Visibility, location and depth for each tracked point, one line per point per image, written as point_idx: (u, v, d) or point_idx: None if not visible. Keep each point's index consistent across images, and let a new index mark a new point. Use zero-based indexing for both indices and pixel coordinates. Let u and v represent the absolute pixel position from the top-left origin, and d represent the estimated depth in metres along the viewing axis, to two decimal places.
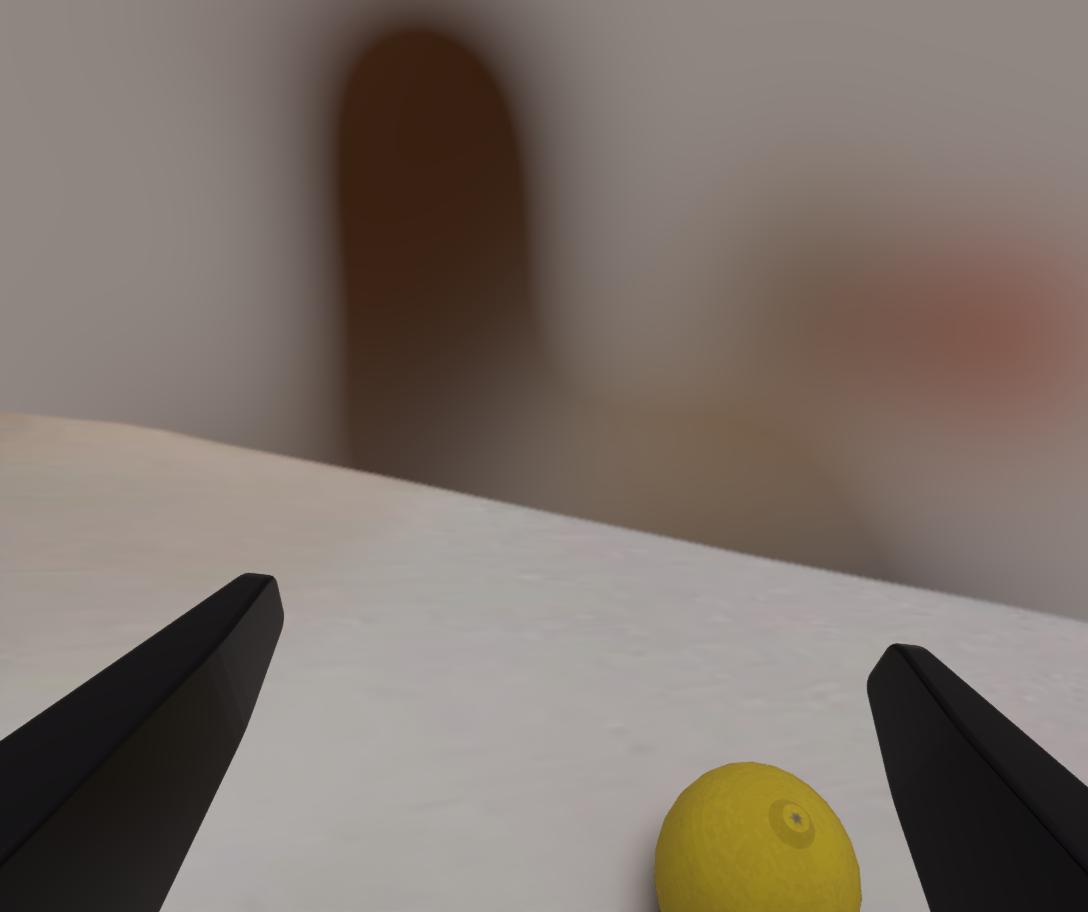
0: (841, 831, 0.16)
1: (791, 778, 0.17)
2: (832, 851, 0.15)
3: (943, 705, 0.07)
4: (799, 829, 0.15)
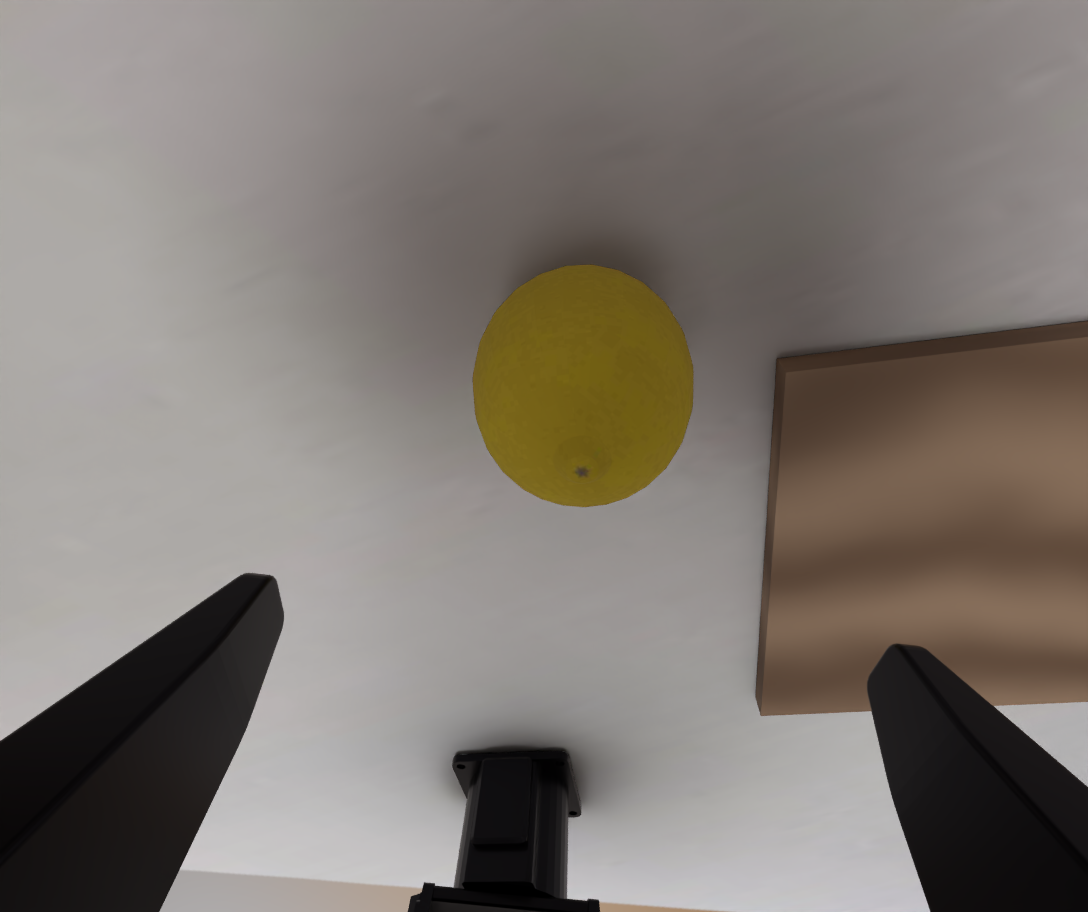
0: (659, 427, 0.12)
1: (605, 379, 0.12)
2: (632, 468, 0.12)
3: (943, 705, 0.07)
4: (584, 480, 0.12)
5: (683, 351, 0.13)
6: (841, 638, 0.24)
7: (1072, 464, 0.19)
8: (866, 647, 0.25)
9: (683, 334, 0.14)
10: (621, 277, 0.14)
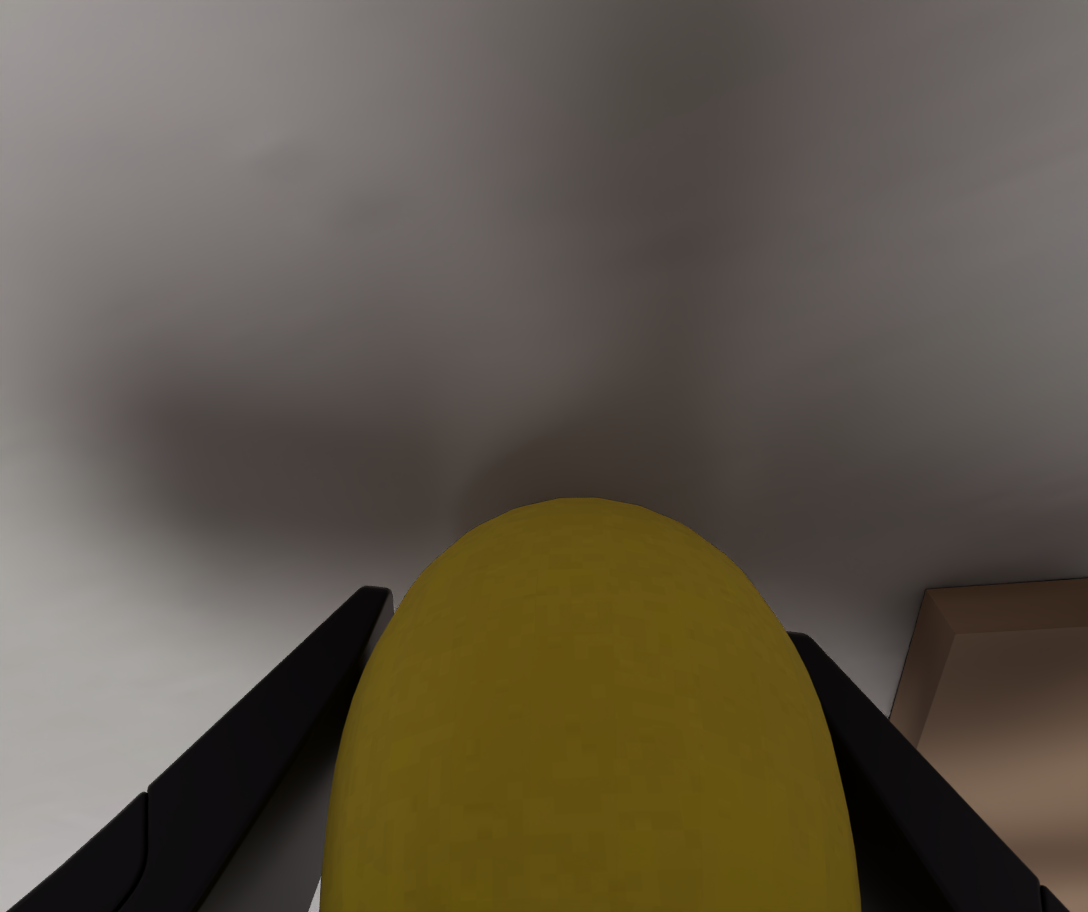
0: None
1: None
2: None
3: None
4: None
5: (842, 810, 0.05)
6: None
7: None
8: None
9: (821, 712, 0.06)
10: (678, 596, 0.06)
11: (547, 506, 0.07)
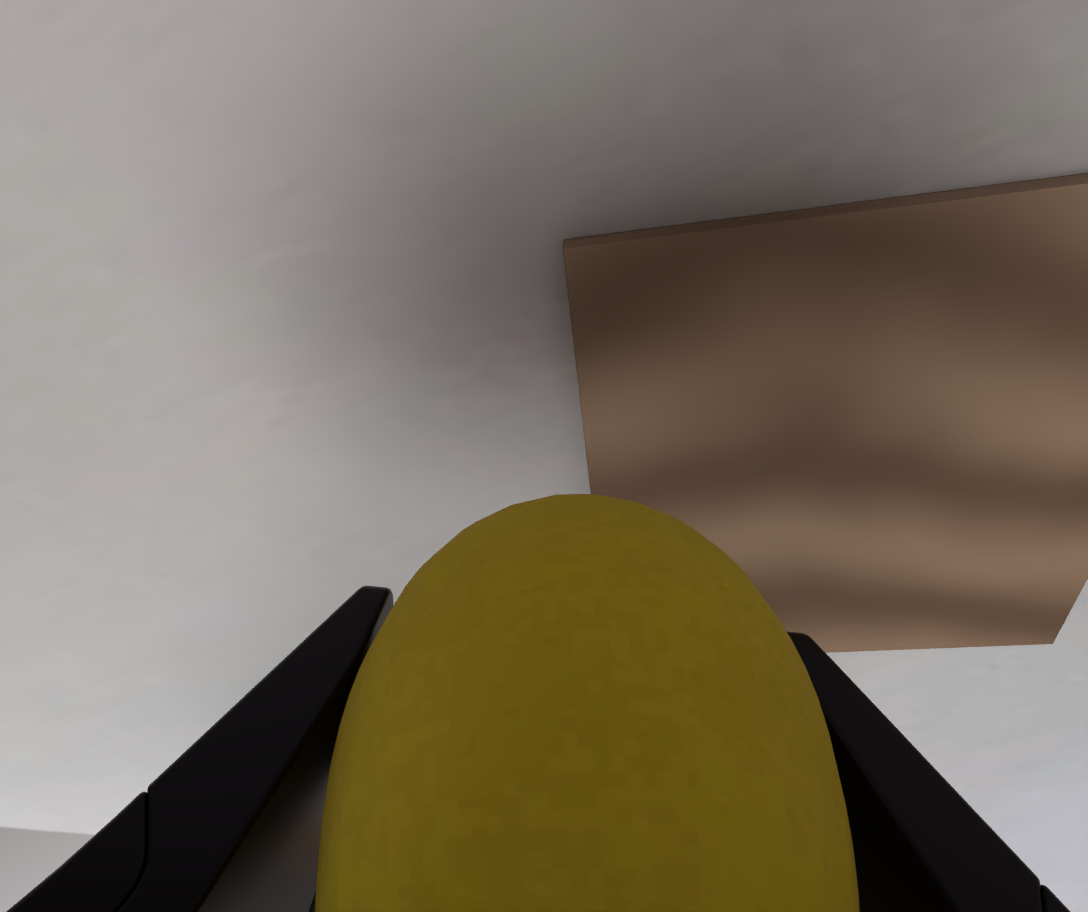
0: None
1: None
2: None
3: None
4: None
5: (840, 807, 0.05)
6: None
7: (889, 367, 0.17)
8: None
9: (820, 709, 0.06)
10: (676, 592, 0.06)
11: (545, 502, 0.07)
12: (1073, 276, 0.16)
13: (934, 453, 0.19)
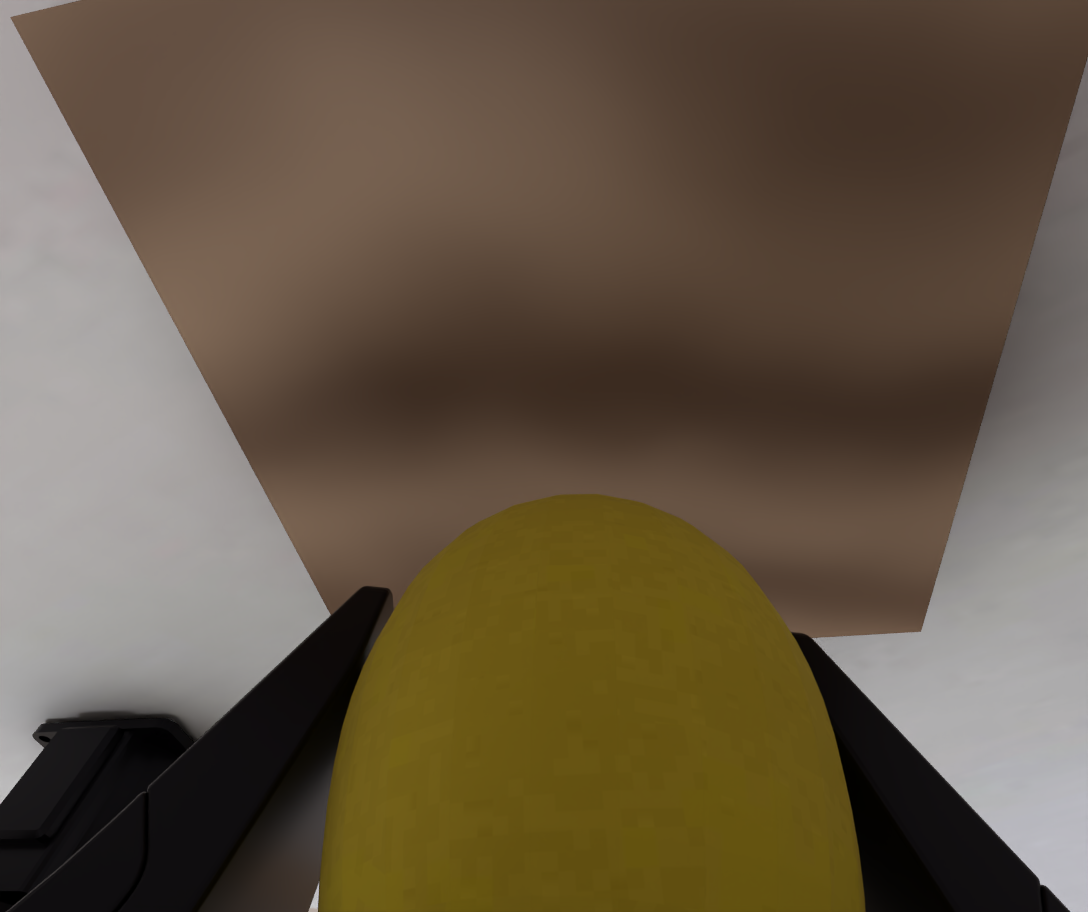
0: None
1: None
2: None
3: None
4: None
5: (846, 808, 0.05)
6: (394, 542, 0.17)
7: (574, 209, 0.11)
8: None
9: (825, 709, 0.06)
10: (681, 592, 0.06)
11: (548, 502, 0.07)
12: (813, 25, 0.10)
13: (682, 352, 0.13)
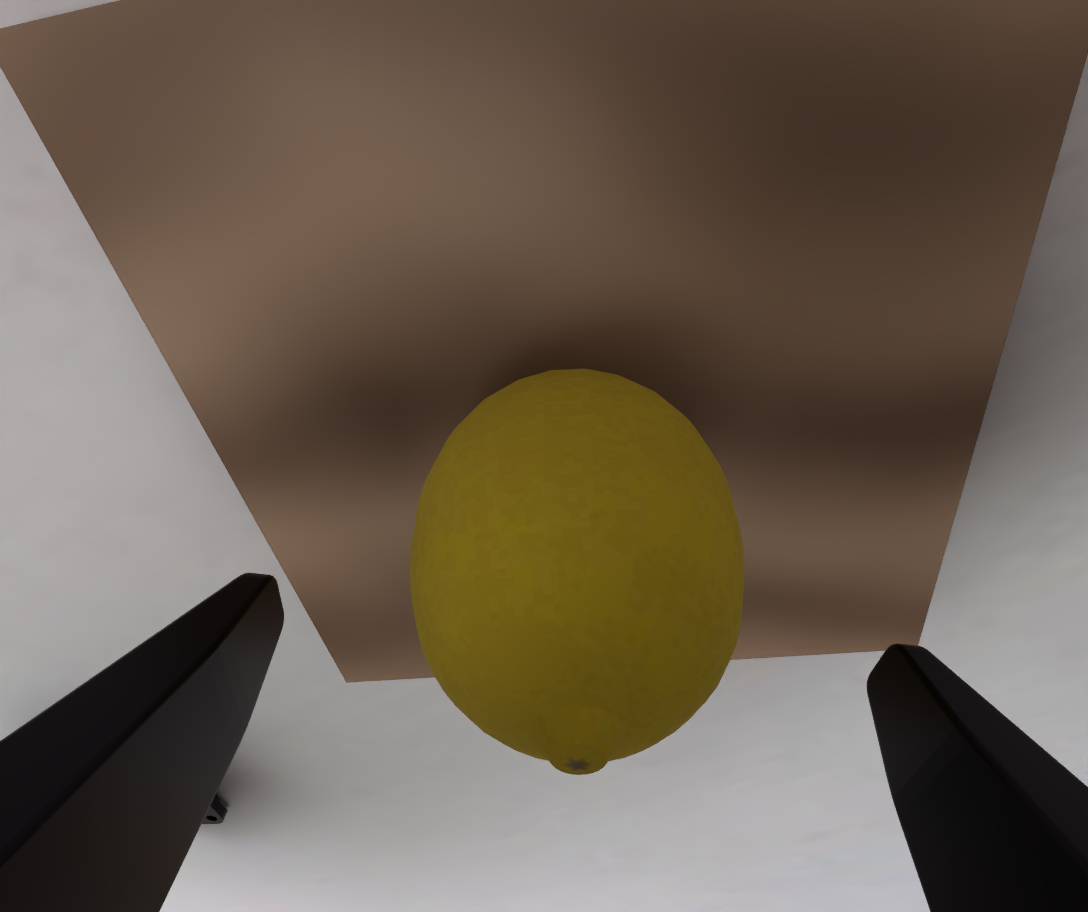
0: (703, 671, 0.08)
1: (615, 613, 0.07)
2: (659, 733, 0.08)
3: (943, 705, 0.07)
4: (583, 773, 0.07)
5: (731, 523, 0.09)
6: (382, 560, 0.16)
7: (561, 227, 0.11)
8: None
9: (726, 483, 0.09)
10: (633, 403, 0.09)
11: (548, 371, 0.10)
12: (802, 42, 0.09)
13: (673, 370, 0.13)
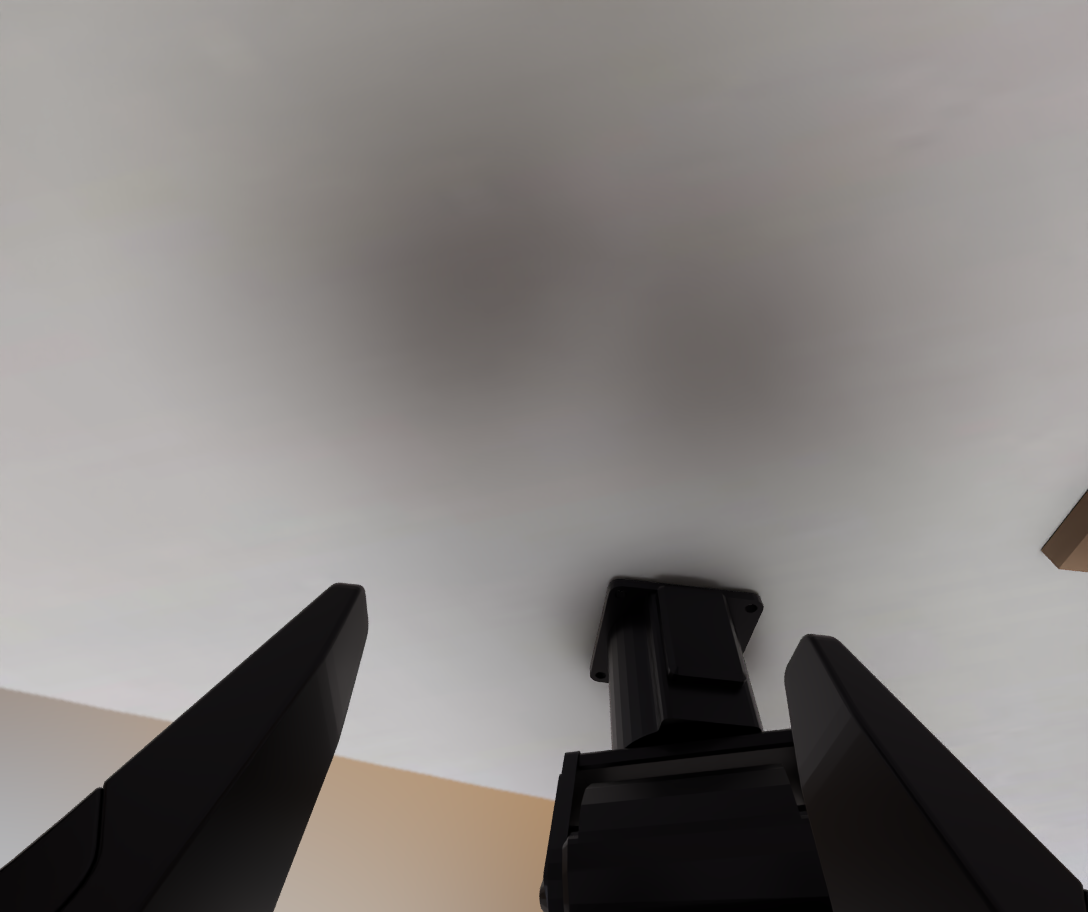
0: None
1: None
2: None
3: (843, 694, 0.07)
4: None
5: None
6: None
7: None
8: None
9: None
10: None
11: None
12: None
13: None
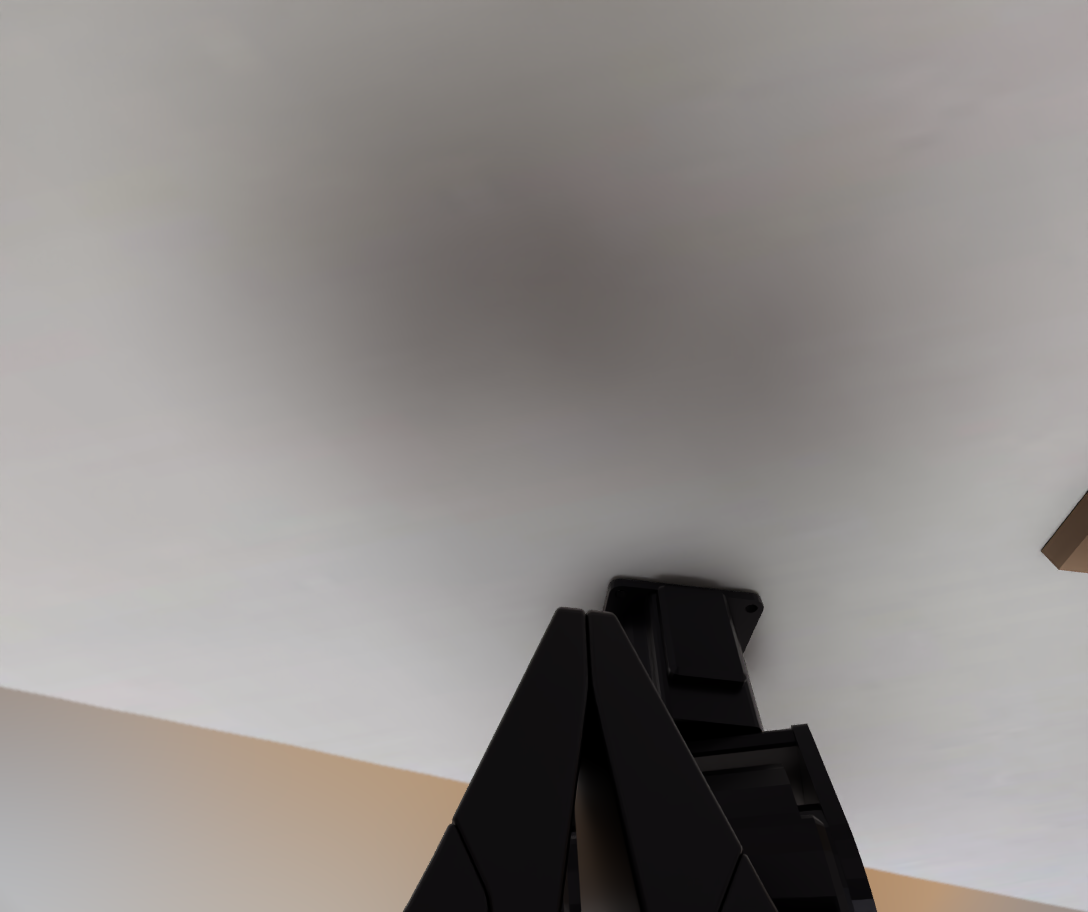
0: None
1: None
2: None
3: (592, 667, 0.07)
4: None
5: None
6: None
7: None
8: None
9: None
10: None
11: None
12: None
13: None
